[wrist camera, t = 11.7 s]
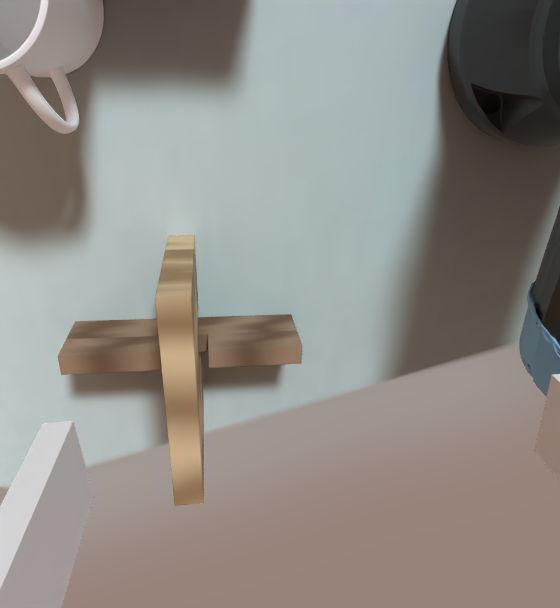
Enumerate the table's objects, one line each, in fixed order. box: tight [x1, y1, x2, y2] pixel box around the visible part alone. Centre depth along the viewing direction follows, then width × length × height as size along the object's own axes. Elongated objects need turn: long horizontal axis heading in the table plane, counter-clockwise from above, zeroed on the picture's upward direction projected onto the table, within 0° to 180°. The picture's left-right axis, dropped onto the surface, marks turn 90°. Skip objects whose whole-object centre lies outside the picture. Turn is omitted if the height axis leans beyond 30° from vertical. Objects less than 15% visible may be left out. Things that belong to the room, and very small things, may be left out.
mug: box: [0, 0, 104, 134], centre depth 27 cm, size 12×8×12 cm
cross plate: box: [155, 235, 204, 506], centre depth 37 cm, size 16×2×12 cm, turn 179°
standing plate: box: [58, 315, 302, 375], centre depth 40 cm, size 18×2×6 cm, turn 88°
